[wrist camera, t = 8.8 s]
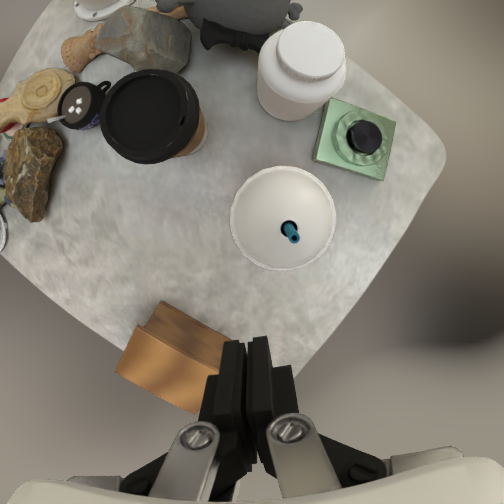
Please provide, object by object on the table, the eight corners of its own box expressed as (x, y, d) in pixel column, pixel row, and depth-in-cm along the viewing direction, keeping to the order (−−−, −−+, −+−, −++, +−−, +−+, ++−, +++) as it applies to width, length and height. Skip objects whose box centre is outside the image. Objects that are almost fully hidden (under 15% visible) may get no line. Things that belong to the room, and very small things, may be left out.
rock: (43, 224, 30) (5, 230, 31) (73, 215, 36) (33, 221, 37) (35, 116, 26) (-3, 138, 28) (65, 119, 32) (25, 137, 33)
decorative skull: (145, -16, 23) (131, 70, 25) (185, -80, 13) (172, 0, 15) (265, 14, 34) (273, 92, 35) (322, -25, 24) (343, 59, 25)
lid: (116, 368, 34) (114, 371, 33) (138, 323, 32) (135, 326, 31) (196, 411, 36) (195, 415, 35) (227, 373, 34) (226, 377, 33)
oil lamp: (-17, 128, 26) (-27, 116, 21) (49, 62, 30) (46, 45, 25) (20, 168, 30) (11, 159, 26) (87, 96, 34) (87, 80, 29)
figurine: (201, 13, 26) (60, 72, 27) (204, 26, 30) (74, 79, 31) (190, -24, 24) (57, 34, 25) (193, -10, 28) (70, 42, 29)
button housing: (311, 160, 34) (318, 158, 31) (325, 100, 32) (333, 93, 29) (376, 180, 35) (389, 182, 31) (389, 123, 33) (402, 119, 29)
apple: (2, 147, 33) (-24, 148, 27) (3, 104, 31) (-22, 100, 25) (32, 134, 33) (4, 132, 26) (33, 88, 31) (7, 81, 24)
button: (344, 147, 31) (349, 146, 29) (351, 118, 30) (356, 116, 28) (373, 157, 31) (378, 156, 29) (379, 128, 30) (385, 127, 28)
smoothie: (230, 178, 35) (202, 186, 16) (297, 160, 35) (346, 149, 15) (249, 242, 37) (243, 319, 18) (313, 225, 37) (372, 284, 17)
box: (139, 342, 42) (122, 371, 34) (161, 300, 40) (144, 327, 32) (203, 377, 43) (196, 410, 36) (231, 339, 41) (227, 372, 34)
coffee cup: (205, 174, 35) (172, 177, 21) (144, 155, 34) (81, 151, 20) (227, 110, 33) (209, 72, 18) (165, 94, 32) (114, 55, 18)
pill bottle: (304, 133, 34) (338, 110, 19) (245, 104, 33) (239, 62, 18) (331, 82, 32) (374, 37, 17) (273, 54, 31) (284, -7, 16)
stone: (192, 22, 28) (216, 63, 29) (146, 57, 32) (164, 98, 33) (133, -15, 17) (154, 28, 18) (80, 36, 21) (93, 83, 22)
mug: (88, 142, 34) (57, 139, 26) (69, 111, 32) (38, 104, 25) (154, 83, 32) (133, 65, 24) (132, 53, 30) (109, 34, 23)
